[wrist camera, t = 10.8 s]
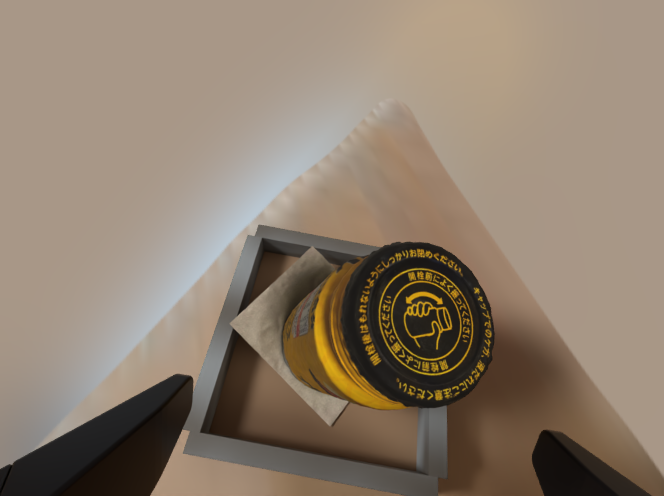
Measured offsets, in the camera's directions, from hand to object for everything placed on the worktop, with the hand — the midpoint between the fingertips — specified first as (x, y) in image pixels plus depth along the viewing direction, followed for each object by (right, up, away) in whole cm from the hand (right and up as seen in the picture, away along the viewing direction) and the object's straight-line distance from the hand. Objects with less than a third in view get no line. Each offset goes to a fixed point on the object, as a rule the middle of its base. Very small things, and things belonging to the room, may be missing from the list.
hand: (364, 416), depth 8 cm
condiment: (-2, -1, +13) cm, 13 cm away
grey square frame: (-1, -3, +14) cm, 14 cm away
